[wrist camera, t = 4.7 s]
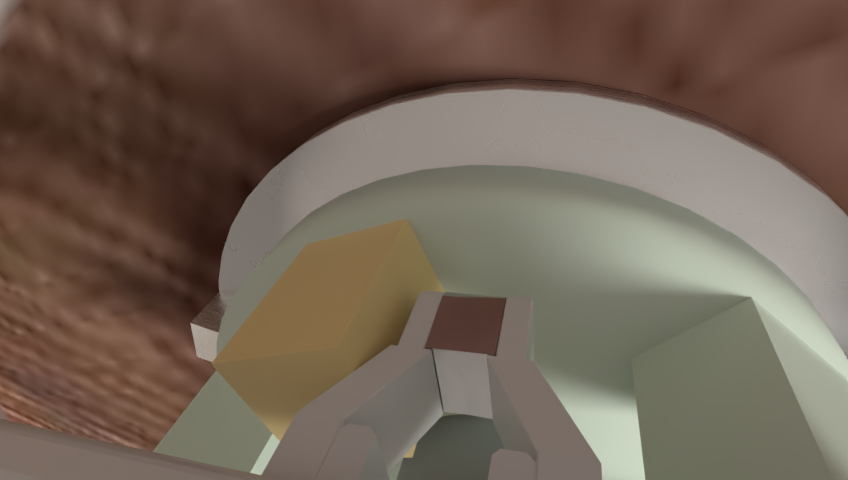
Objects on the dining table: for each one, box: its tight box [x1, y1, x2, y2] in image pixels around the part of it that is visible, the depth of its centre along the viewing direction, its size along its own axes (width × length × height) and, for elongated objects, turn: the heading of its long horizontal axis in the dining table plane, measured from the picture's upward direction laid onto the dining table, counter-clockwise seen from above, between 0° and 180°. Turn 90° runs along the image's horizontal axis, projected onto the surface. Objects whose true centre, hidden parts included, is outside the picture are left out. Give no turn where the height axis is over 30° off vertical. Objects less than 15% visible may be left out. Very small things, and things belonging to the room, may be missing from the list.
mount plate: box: [190, 79, 848, 362], centre depth 18 cm, size 24×24×3 cm
